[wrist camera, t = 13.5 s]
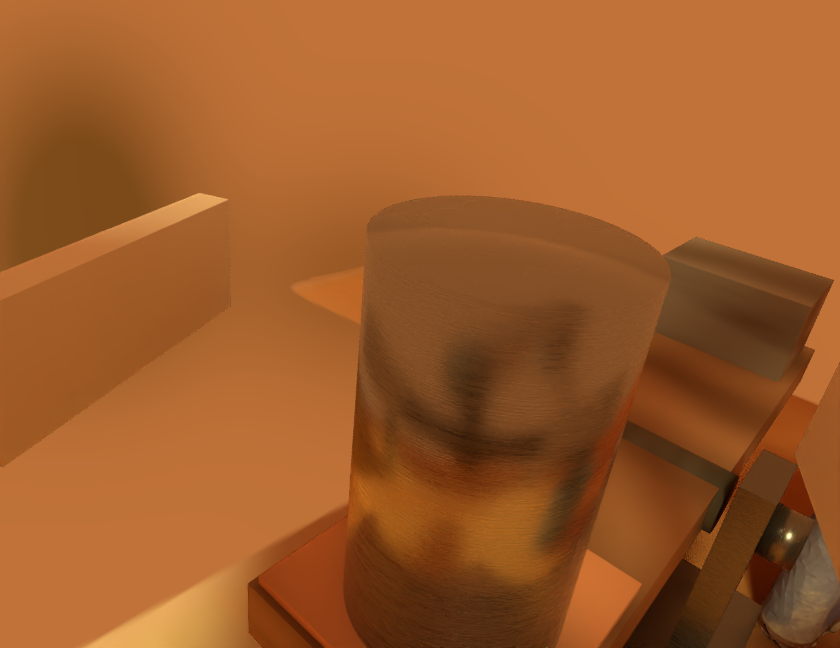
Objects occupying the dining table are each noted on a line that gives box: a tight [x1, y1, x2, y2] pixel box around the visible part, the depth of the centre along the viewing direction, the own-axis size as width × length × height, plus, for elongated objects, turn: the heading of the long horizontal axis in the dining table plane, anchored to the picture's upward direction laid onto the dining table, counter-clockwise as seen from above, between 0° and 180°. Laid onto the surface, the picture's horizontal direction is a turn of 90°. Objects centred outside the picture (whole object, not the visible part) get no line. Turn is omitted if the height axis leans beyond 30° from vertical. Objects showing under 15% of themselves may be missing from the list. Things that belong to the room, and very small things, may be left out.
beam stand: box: [623, 449, 815, 648], centre depth 28 cm, size 10×14×11 cm
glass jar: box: [343, 196, 671, 648], centre depth 15 cm, size 6×6×10 cm
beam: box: [248, 237, 834, 648], centre depth 25 cm, size 30×9×6 cm, turn 139°
